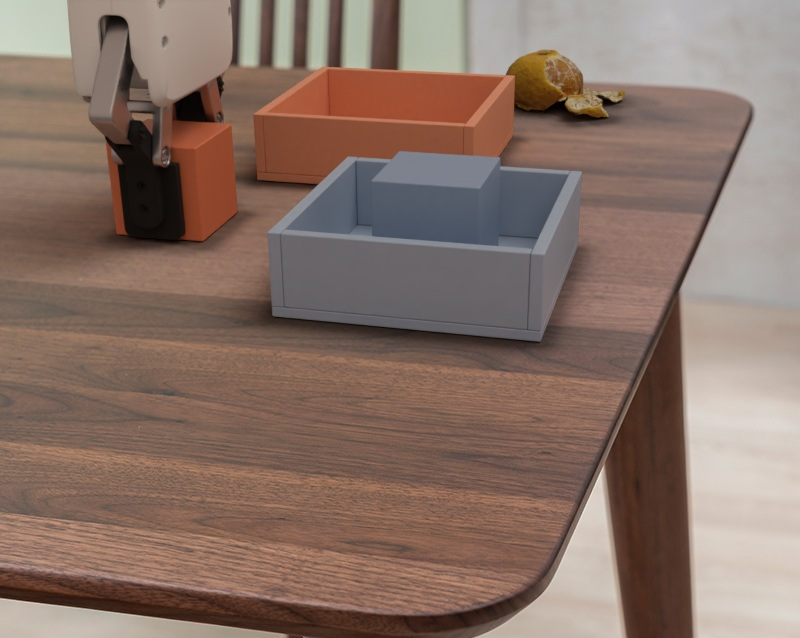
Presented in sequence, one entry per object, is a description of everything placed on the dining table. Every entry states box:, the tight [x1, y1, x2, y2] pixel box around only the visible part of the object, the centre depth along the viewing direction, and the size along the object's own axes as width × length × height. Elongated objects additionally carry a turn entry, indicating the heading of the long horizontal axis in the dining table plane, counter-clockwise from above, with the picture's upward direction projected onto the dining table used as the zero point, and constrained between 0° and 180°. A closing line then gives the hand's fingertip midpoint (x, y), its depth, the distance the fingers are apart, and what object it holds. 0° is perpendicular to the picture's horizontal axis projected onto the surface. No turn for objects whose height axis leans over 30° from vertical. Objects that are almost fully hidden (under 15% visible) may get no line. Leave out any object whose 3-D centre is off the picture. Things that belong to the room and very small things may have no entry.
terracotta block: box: [105, 118, 239, 242], centre depth 67 cm, size 5×5×5 cm
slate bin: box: [266, 157, 583, 343], centre depth 60 cm, size 12×12×4 cm
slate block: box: [371, 151, 502, 246], centre depth 59 cm, size 5×5×5 cm
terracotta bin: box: [252, 66, 515, 185], centre depth 79 cm, size 13×13×4 cm
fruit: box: [505, 49, 626, 118], centre depth 90 cm, size 8×8×4 cm
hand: (177, 215), depth 68 cm, fingers closed on terracotta block, 5 cm apart
